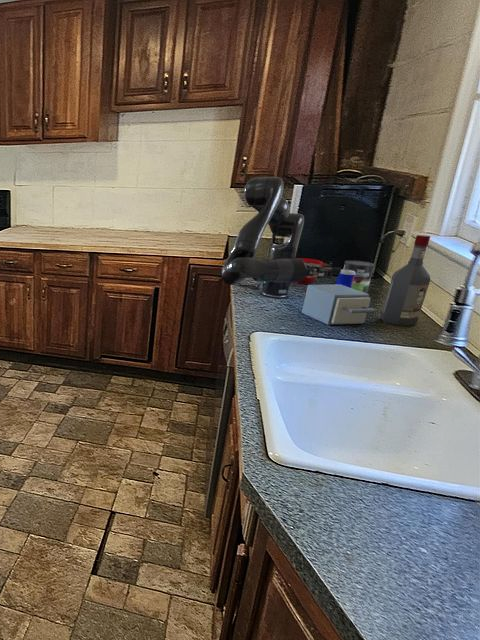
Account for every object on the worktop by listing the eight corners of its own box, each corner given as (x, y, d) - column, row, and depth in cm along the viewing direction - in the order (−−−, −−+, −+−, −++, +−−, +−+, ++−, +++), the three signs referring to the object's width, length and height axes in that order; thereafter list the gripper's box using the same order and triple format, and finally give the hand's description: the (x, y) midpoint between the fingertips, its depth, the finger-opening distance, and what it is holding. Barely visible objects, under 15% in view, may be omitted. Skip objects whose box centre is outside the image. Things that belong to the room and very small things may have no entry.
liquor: (376, 319, 188) (400, 234, 177) (392, 316, 192) (417, 233, 181) (403, 327, 181) (430, 238, 170) (419, 324, 184) (447, 237, 173)
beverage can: (347, 312, 197) (358, 272, 192) (332, 311, 198) (342, 271, 193) (342, 308, 202) (352, 269, 196) (327, 307, 203) (337, 268, 197)
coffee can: (368, 301, 212) (377, 266, 207) (338, 298, 216) (347, 264, 210) (362, 295, 221) (371, 261, 216) (334, 292, 225) (342, 259, 219)
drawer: (374, 327, 177) (382, 302, 174) (343, 328, 176) (349, 302, 173) (337, 311, 194) (343, 288, 191) (308, 312, 193) (313, 289, 190)
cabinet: (361, 323, 184) (369, 294, 180) (327, 324, 183) (334, 294, 179) (333, 312, 197) (340, 284, 193) (301, 312, 196) (307, 284, 192)
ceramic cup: (332, 286, 235) (338, 264, 231) (294, 285, 235) (299, 263, 232) (317, 279, 247) (322, 258, 243) (280, 279, 247) (285, 258, 244)
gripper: (301, 263, 162) (353, 262, 164) (275, 254, 175) (323, 254, 177) (296, 287, 165) (347, 286, 166) (270, 277, 178) (318, 276, 180)
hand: (335, 269), depth 172 cm, fingers open, 3 cm apart
